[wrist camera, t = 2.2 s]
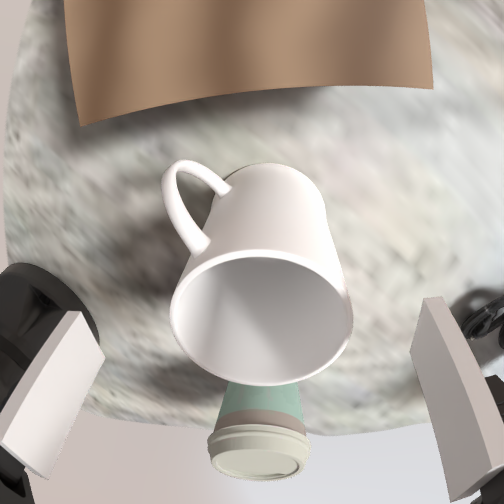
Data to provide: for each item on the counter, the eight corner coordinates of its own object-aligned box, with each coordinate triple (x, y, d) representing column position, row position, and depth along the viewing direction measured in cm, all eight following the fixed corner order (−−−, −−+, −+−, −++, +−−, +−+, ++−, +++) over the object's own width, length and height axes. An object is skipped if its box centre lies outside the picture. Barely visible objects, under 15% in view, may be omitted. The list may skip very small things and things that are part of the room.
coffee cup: (207, 362, 33) (185, 463, 22) (257, 317, 29) (246, 435, 18) (270, 394, 35) (265, 488, 24) (323, 357, 31) (334, 464, 21)
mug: (162, 169, 23) (76, 248, 12) (258, 100, 20) (239, 119, 9) (253, 283, 27) (238, 405, 17) (344, 234, 24) (385, 349, 14)
